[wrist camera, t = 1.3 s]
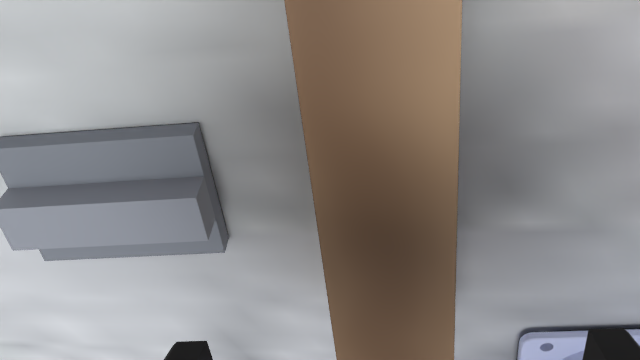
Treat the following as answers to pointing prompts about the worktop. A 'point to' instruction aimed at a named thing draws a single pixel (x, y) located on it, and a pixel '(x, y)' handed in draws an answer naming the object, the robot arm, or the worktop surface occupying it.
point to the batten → (383, 167)
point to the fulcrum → (111, 193)
